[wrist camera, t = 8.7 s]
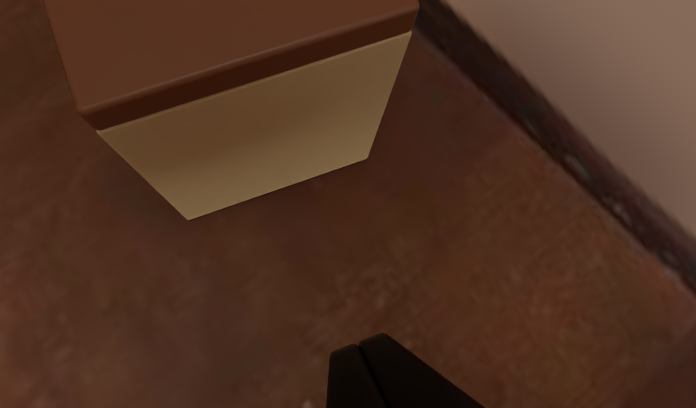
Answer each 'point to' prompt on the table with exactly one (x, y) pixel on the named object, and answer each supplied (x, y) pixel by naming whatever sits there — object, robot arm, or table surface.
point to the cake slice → (232, 87)
